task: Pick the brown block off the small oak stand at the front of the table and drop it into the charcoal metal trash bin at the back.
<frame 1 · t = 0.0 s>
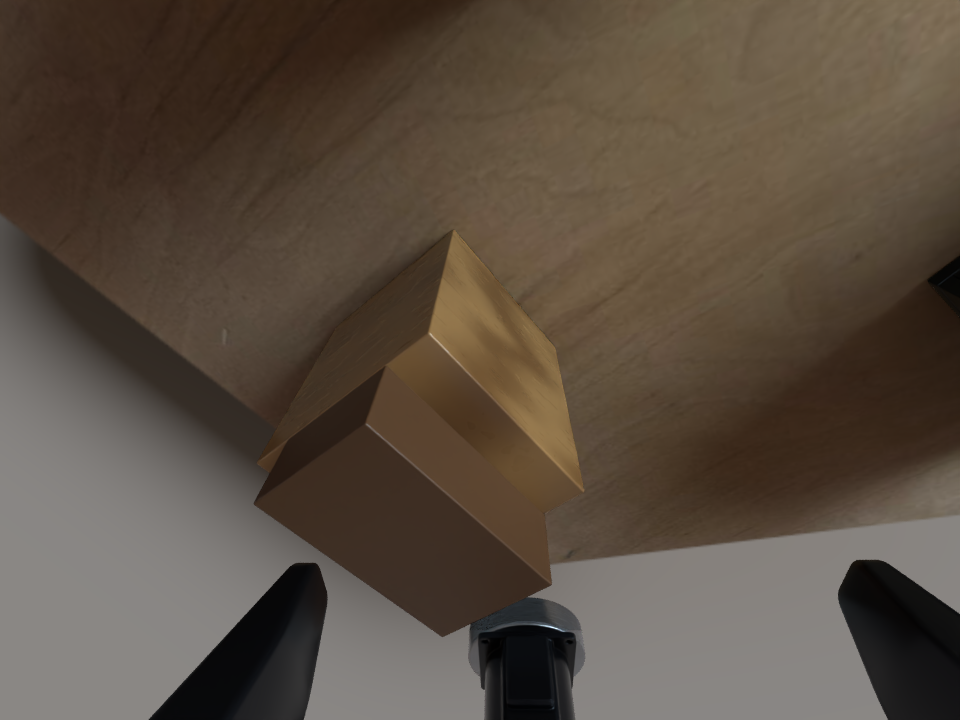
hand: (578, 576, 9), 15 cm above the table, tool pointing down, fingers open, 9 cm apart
stand: (446, 337, 23), on the table
brown block: (421, 478, 15), point 9 cm above the table, touching stand
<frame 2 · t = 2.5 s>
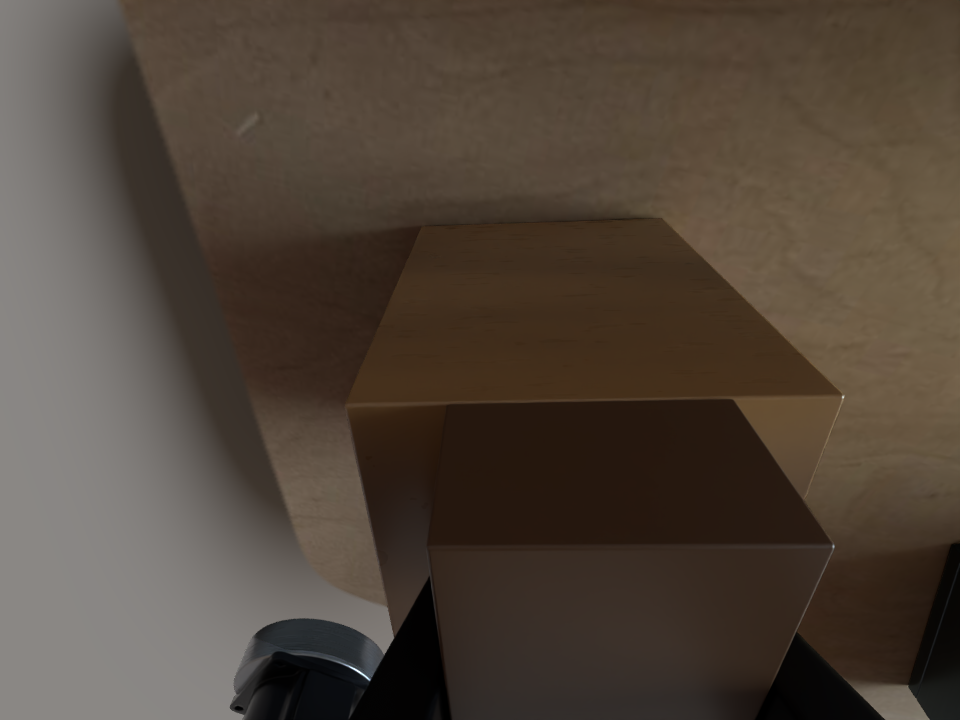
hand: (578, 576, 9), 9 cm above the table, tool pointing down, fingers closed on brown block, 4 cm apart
stand: (538, 329, 17), on the table
brown block: (575, 564, 9), point 9 cm above the table, touching gripper, stand
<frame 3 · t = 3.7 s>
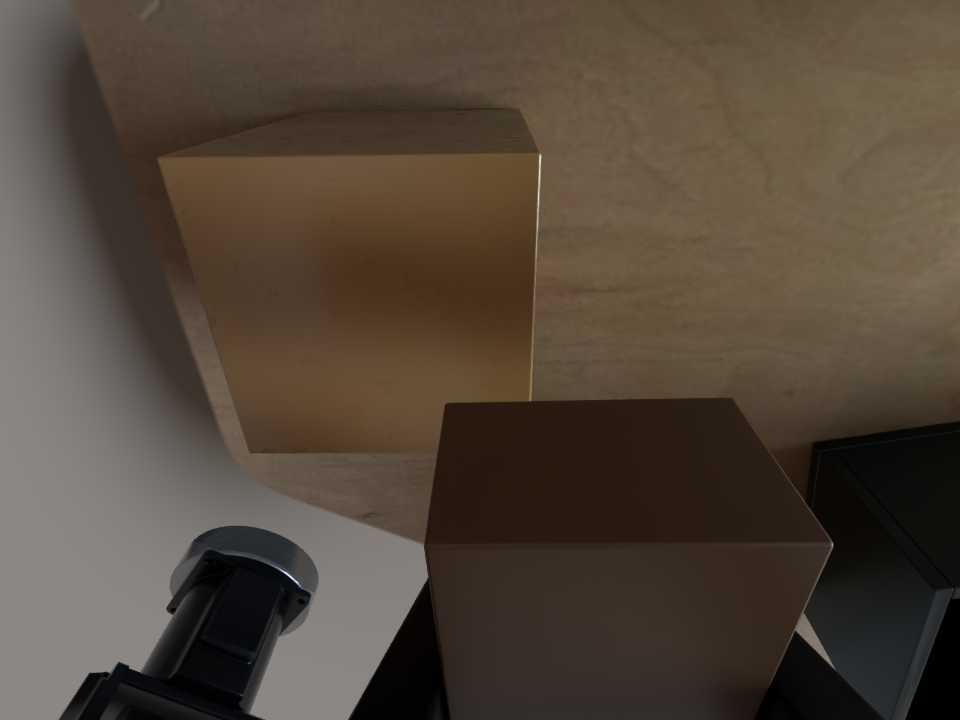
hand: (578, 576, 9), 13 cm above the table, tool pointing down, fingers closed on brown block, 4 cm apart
stand: (422, 216, 19), on the table
brown block: (574, 564, 9), point 13 cm above the table, touching gripper
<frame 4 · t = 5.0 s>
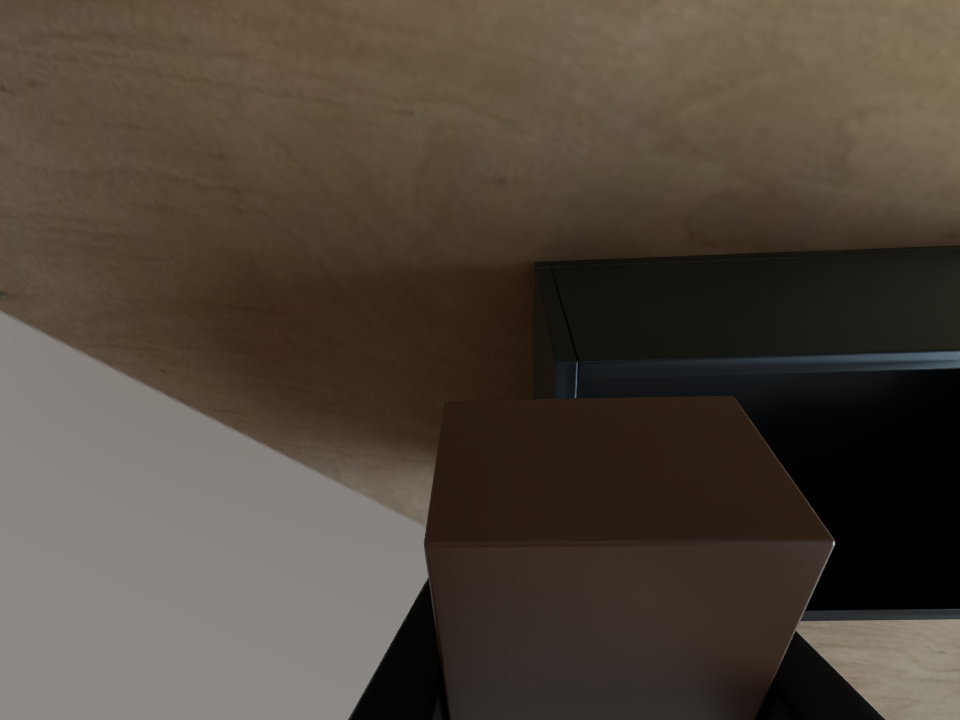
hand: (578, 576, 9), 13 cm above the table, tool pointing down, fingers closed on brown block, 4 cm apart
trash bin: (778, 376, 22), on the table
brown block: (574, 562, 9), point 13 cm above the table, touching gripper
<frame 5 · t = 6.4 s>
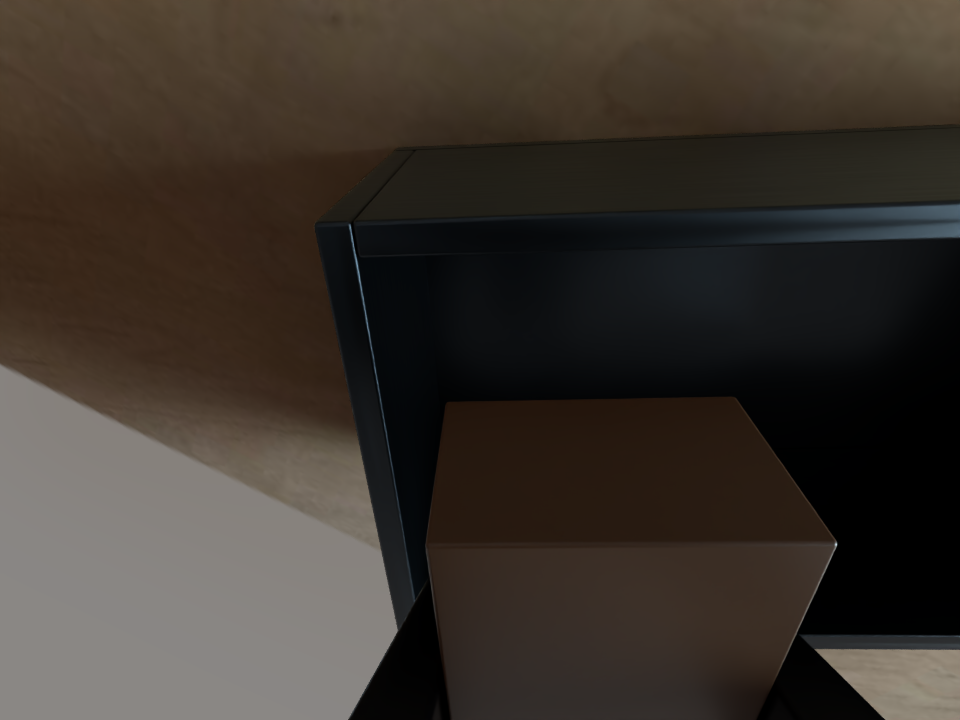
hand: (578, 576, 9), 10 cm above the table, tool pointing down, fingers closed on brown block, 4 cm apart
trash bin: (740, 318, 17), on the table
brown block: (575, 563, 9), point 9 cm above the table, touching gripper
when the fingers open (6 cm above the table, at t = 7.8 s): brown block drops 5 cm, resting on trash bin.
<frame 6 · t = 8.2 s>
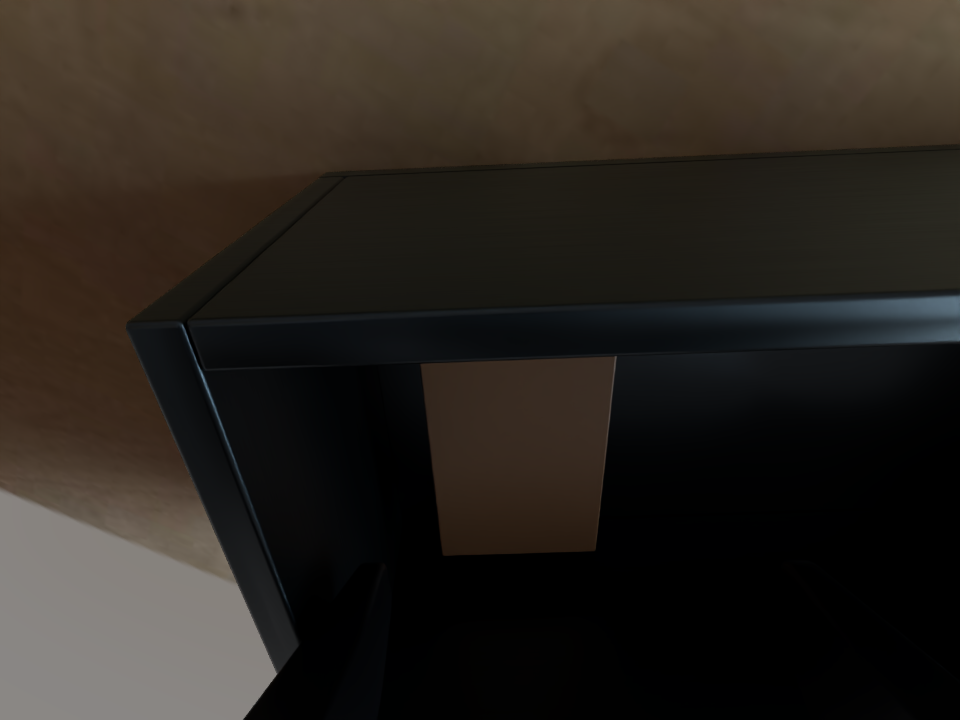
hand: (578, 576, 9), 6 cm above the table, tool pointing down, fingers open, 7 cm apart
trash bin: (747, 368, 14), on the table
brown block: (511, 388, 14), point 1 cm above the table, touching trash bin
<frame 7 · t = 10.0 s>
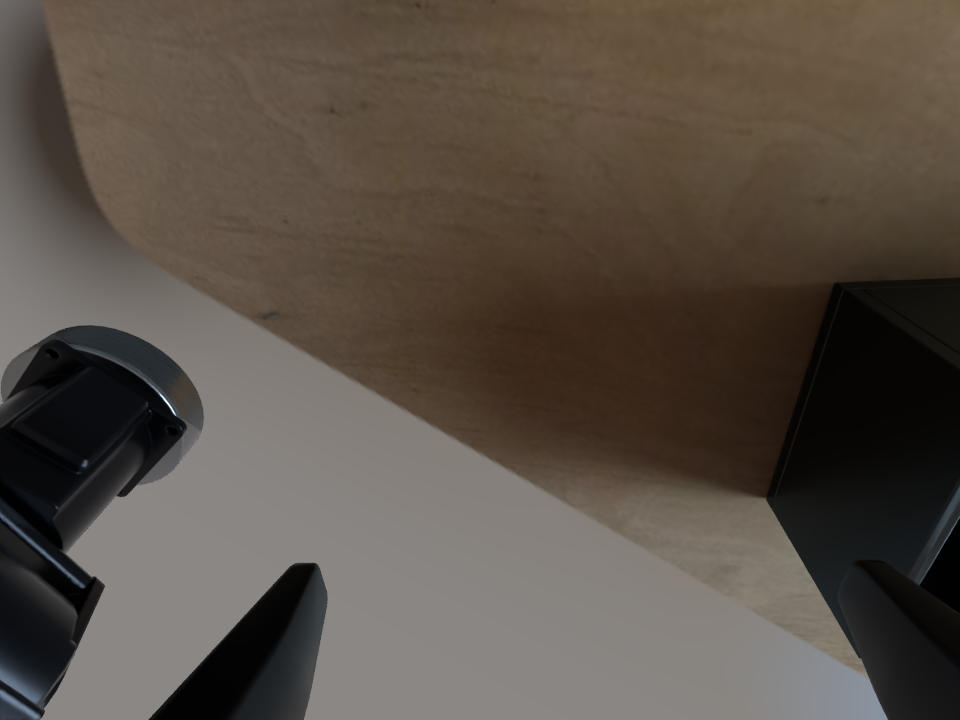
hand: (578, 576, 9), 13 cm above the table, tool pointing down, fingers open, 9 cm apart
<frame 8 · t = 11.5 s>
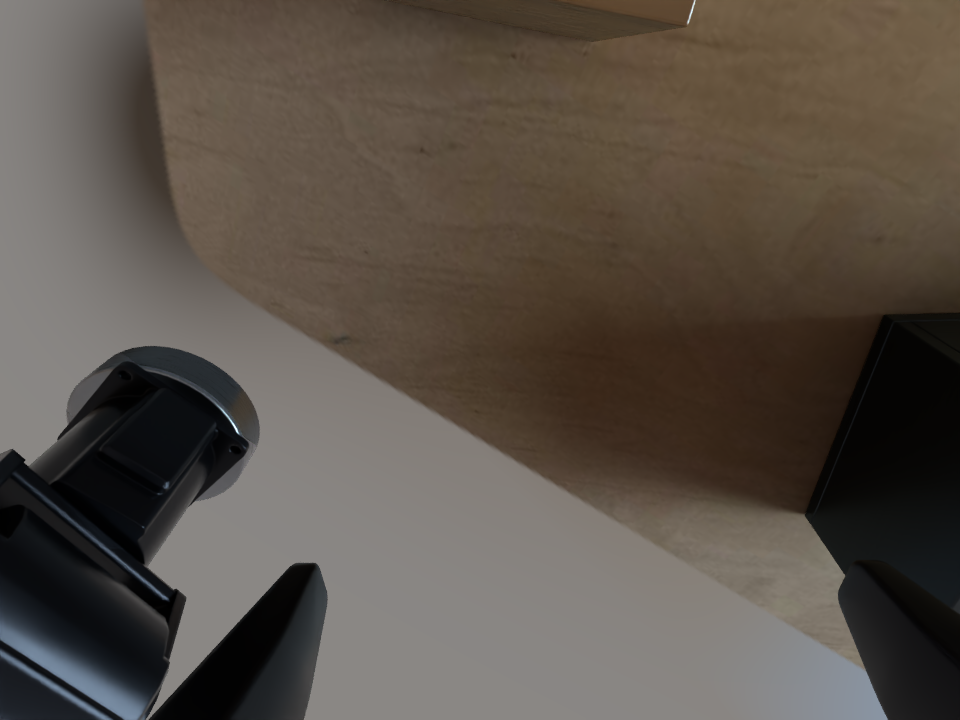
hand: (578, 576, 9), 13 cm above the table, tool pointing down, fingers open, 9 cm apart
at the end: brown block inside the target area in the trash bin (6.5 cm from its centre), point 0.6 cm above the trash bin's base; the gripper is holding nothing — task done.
